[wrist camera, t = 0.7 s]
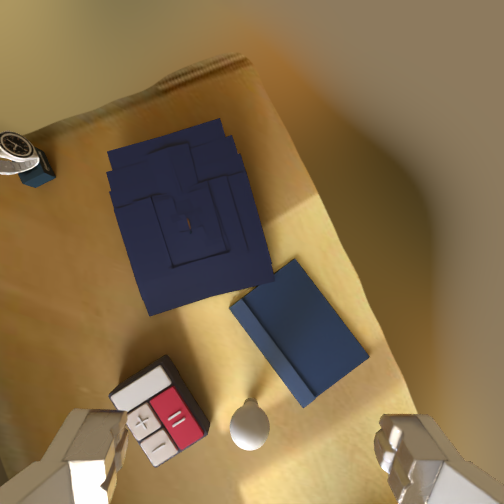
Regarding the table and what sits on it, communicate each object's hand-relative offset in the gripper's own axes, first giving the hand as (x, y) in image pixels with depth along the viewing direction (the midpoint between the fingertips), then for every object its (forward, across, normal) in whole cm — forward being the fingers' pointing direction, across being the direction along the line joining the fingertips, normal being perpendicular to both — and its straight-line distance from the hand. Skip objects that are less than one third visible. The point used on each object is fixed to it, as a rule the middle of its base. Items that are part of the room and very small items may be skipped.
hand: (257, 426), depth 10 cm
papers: (+48, -7, -5) cm, 49 cm away
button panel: (+37, -10, -37) cm, 53 cm away
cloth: (+39, +13, -22) cm, 47 cm away
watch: (+55, -36, +1) cm, 66 cm away
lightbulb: (+36, +6, -35) cm, 50 cm away
